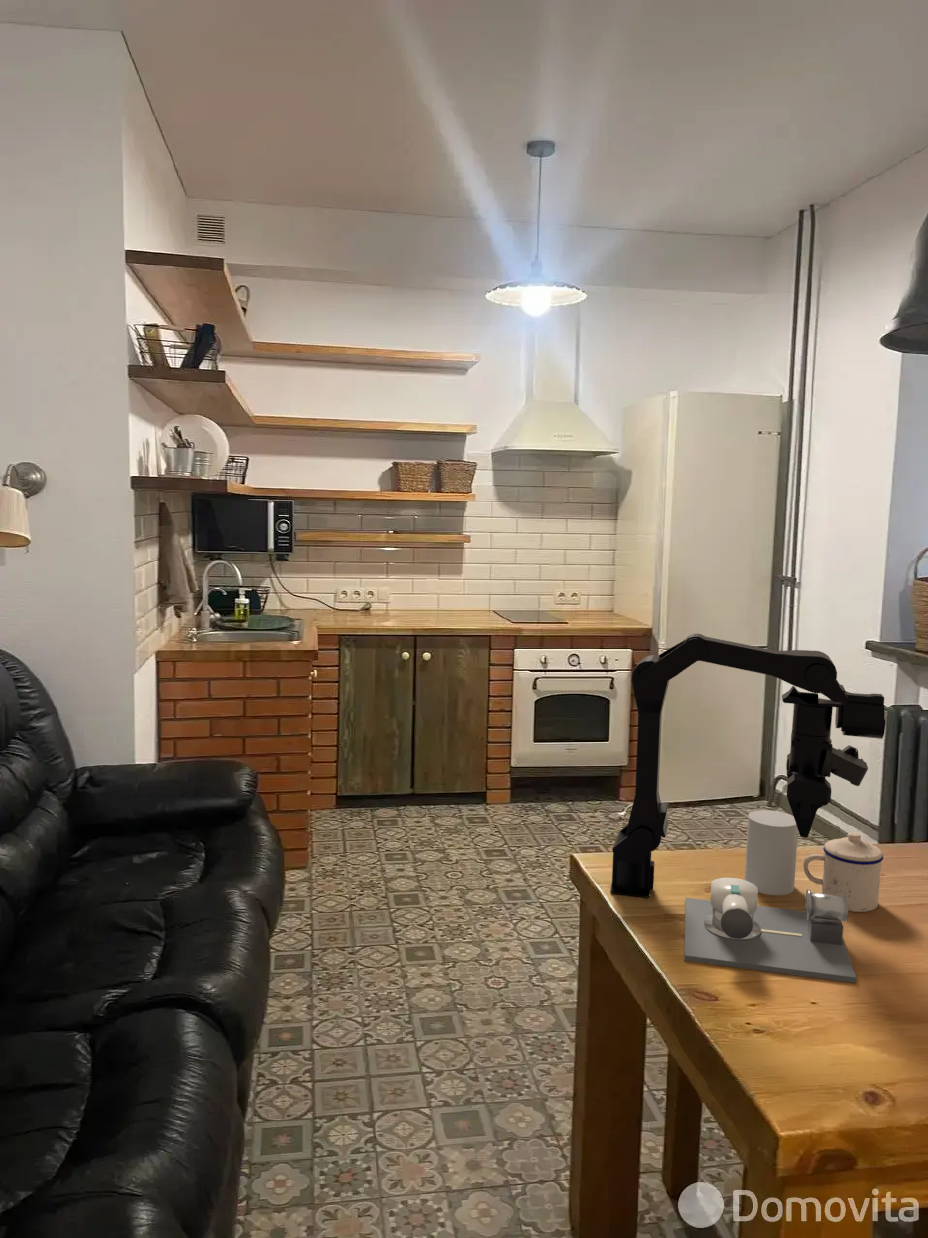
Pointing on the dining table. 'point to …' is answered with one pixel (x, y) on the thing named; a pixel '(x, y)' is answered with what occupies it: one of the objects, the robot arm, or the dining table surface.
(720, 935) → the duct stub
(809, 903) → the duct run
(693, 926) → the board
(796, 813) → the robot arm
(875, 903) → the teacup with lid
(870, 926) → the dining table surface
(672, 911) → the dining table surface
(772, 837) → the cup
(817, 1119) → the dining table surface
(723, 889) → the elbow
